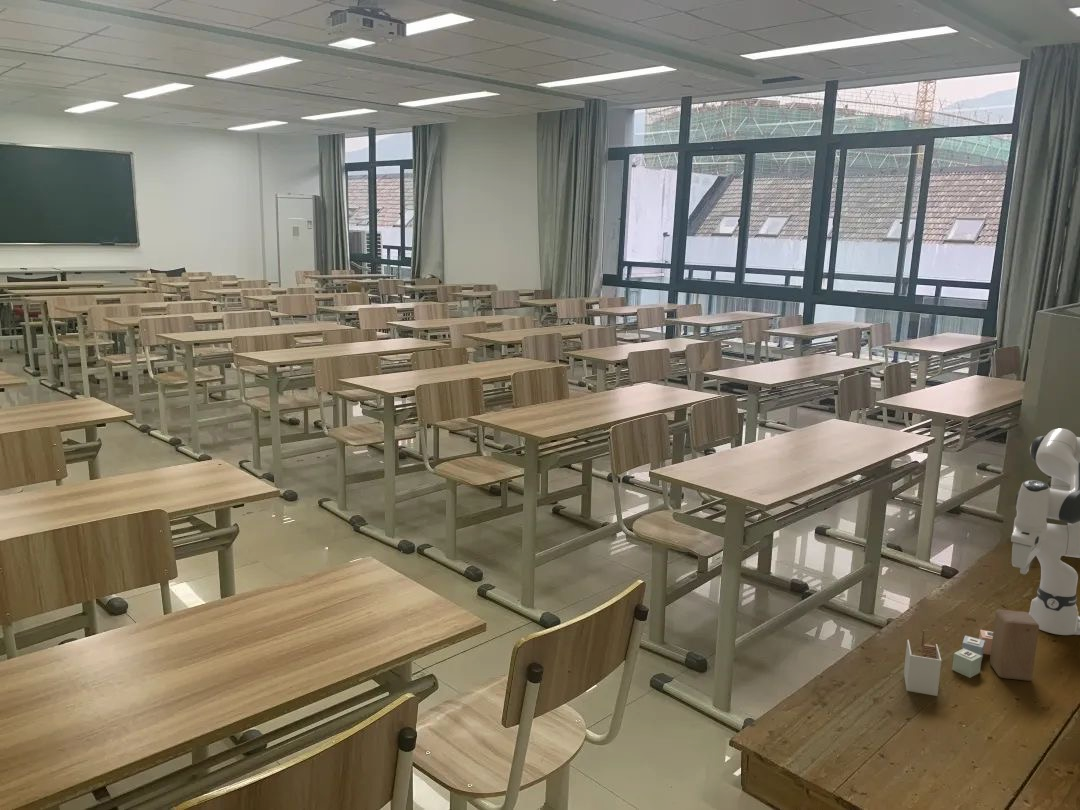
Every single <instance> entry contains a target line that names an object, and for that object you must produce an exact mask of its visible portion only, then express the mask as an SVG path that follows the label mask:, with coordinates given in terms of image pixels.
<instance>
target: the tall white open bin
mask: <svg viewBox="0 0 1080 810" xmlns="http://www.w3.org/2000/svg"><path fill="white" fill-rule="evenodd" d="M920 645H921V653H922V654H921V655H922V656H919V655H914V654H912V650H911V643H910V639H907V640H906V650H905V657H904V658H905V659H904V669H903V677H904V683H905V689H906V692H913V693H917V694H918V693H919V694H924V695H930V696H935V697H938V696H939V695H938V694H939V686H940V685H939V684H940V678H941V677H940V676H941V669H942V658H941V653H940V650H939V647H938V644H937V643H935V644H934V645H932V644H925V630H924V629H923V630H922V639H921V644H920Z"/></svg>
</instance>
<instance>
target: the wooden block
mask: <svg viewBox="0 0 1080 810" xmlns="http://www.w3.org/2000/svg"><path fill="white" fill-rule="evenodd" d="M994 616H995V617H994V624H993V631H992V632H993V639H992V646H991V654H990V655H989V664H990V666H991V668H992V669H993V670H994V671H995V673H996V675H997V676H998V678H1002V679H1008V680H1009V679H1011V680H1021V681H1032V680H1033V674H1034V667H1035V660H1036V652H1037V645H1038V644H1037V643H1038V637H1039V631H1040V629H1039V624H1038V623H1037V622H1036V621H1035V620H1034V619H1033V618H1032V616H1031V615H1030V614H1029V612H1027V611H1021V610H1020V611H1019V610H1008V609H1007V610H1006V609H997V610H996V611H995V615H994Z"/></svg>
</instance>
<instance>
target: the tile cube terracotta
mask: <svg viewBox="0 0 1080 810" xmlns="http://www.w3.org/2000/svg"><path fill="white" fill-rule="evenodd" d="M978 637H979V638H978V639H981V640H985V644H984V652H983V655H989V656H990V654H991V646H992V639H993V631H989V630H984V629H980V630H979V636H978Z"/></svg>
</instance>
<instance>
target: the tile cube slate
mask: <svg viewBox="0 0 1080 810" xmlns="http://www.w3.org/2000/svg"><path fill="white" fill-rule="evenodd" d="M984 644H985V640H981V639H979V638H977V637H972V636H969V635H964V638H963V640H962V643H961V649H963V648H965V649H967V650H969V651H972V652H974V653H976V654H979V655H981V656H982V660H981V662H982V661H983V659H984V658H983V657H984V654H983V652H984Z"/></svg>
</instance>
